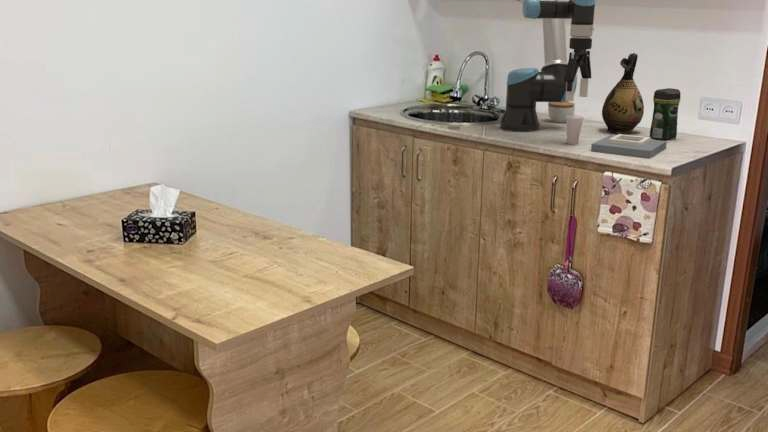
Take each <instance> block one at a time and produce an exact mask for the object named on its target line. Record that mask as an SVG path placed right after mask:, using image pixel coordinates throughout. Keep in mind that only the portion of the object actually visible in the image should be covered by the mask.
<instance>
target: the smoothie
mask: <svg viewBox="0 0 768 432" xmlns="http://www.w3.org/2000/svg"><path fill="white" fill-rule="evenodd" d="M574 104H575V103H574ZM574 104H573V115H568V116H566V141H567V145H578V144H579V139H580V135H581V130H582V125H583V121H584V120H585V118H584V116H582V115H575V110H576V109H575V107H576V105H574Z"/></svg>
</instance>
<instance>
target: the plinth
mask: <svg viewBox="0 0 768 432" xmlns="http://www.w3.org/2000/svg"><path fill="white" fill-rule="evenodd" d="M667 141H668V140H661V139H658V140H656V139H652V138H651V137H650V136H649V137H648V136H641V135H629V134H621V133H617V135H614V134H610V135H608V136H607V135H606V136H605V137H603V138H601V139H599V140H597V141H595V142H593V143H591V147H590V152H596V153H604V154H605V153H606V154H612V155H622V156H628V157H635V158H642V159H643V158H644V159H652V158H653V157H655V156H656V155H658V154H659V153H661V152H662V151H664V150H666V148H667Z"/></svg>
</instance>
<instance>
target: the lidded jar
mask: <svg viewBox="0 0 768 432" xmlns="http://www.w3.org/2000/svg"><path fill="white" fill-rule="evenodd" d="M573 104H574V105H575V102H573V101H568V102H547V107H548V108H547V111H548V116H549V118H550V119H551V120H552V122H553V123H559V124H560V123H561V124H562V123H563V124H564V123H566V116H568V115H573ZM575 106H576V105H575Z"/></svg>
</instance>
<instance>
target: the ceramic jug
mask: <svg viewBox="0 0 768 432" xmlns="http://www.w3.org/2000/svg"><path fill="white" fill-rule="evenodd" d="M638 56H639V55H638V54H637V53H635V52H633V53H630V54H628V56H627V58H626V57H623V58H622V59H621V60H620V61H619V64H620V66H621V67H622V69H624V71H623V72H624V73H623V75H622V77H621V79H620V80H619V81H618V82H617V83H616V84H615V86H614V87H613V88H612V89H611V90H610V92H609V93H608V94H607V96H606V97H605V100H604V103H603V105H602V109H601V115H602V120H603V122H604V124H605V125H606V128H607V129H606V131H607V132H610V133H612V134H623V135H629V134H630V133H632V132H633V130H634V129H635V128H636V127H637V126H638V125H639V124H640V123H641V121H642V120H643V117H644V114H645V113H644V112H645V105H644V101H643V96H642V94H641V92H640V90H639V88H638V86H637V84H636V82H635V79H634V73H635V70H636V66H637V61H638Z"/></svg>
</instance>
